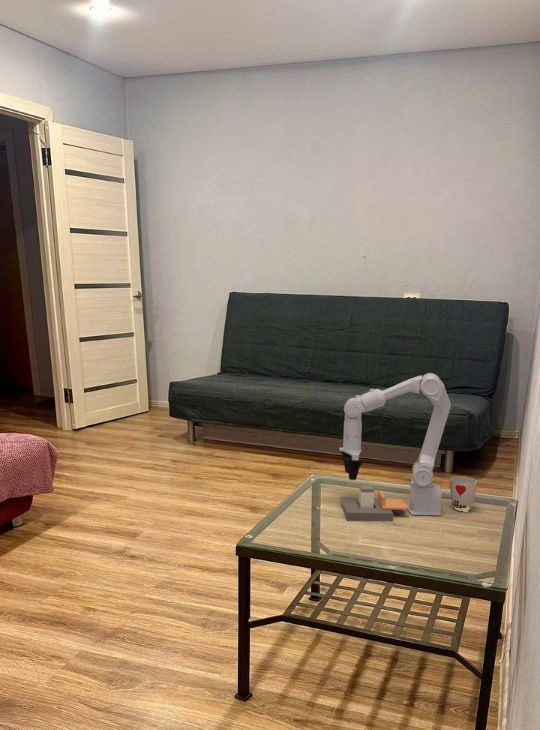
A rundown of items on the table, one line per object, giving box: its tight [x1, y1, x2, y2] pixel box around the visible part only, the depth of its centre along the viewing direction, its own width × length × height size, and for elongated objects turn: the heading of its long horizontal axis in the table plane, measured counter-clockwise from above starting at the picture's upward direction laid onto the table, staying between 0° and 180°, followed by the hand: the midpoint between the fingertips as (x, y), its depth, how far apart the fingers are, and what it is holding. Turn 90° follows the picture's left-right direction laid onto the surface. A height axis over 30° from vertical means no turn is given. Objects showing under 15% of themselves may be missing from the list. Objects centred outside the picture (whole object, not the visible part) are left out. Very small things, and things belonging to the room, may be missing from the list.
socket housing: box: [340, 496, 394, 522], centre depth 188 cm, size 14×14×2 cm
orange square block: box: [377, 490, 408, 511], centre depth 187 cm, size 8×8×4 cm
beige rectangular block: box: [358, 484, 375, 508], centre depth 187 cm, size 4×4×8 cm
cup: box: [449, 475, 478, 509], centre depth 192 cm, size 8×8×10 cm
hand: (350, 476), depth 194 cm, fingers open, 7 cm apart
